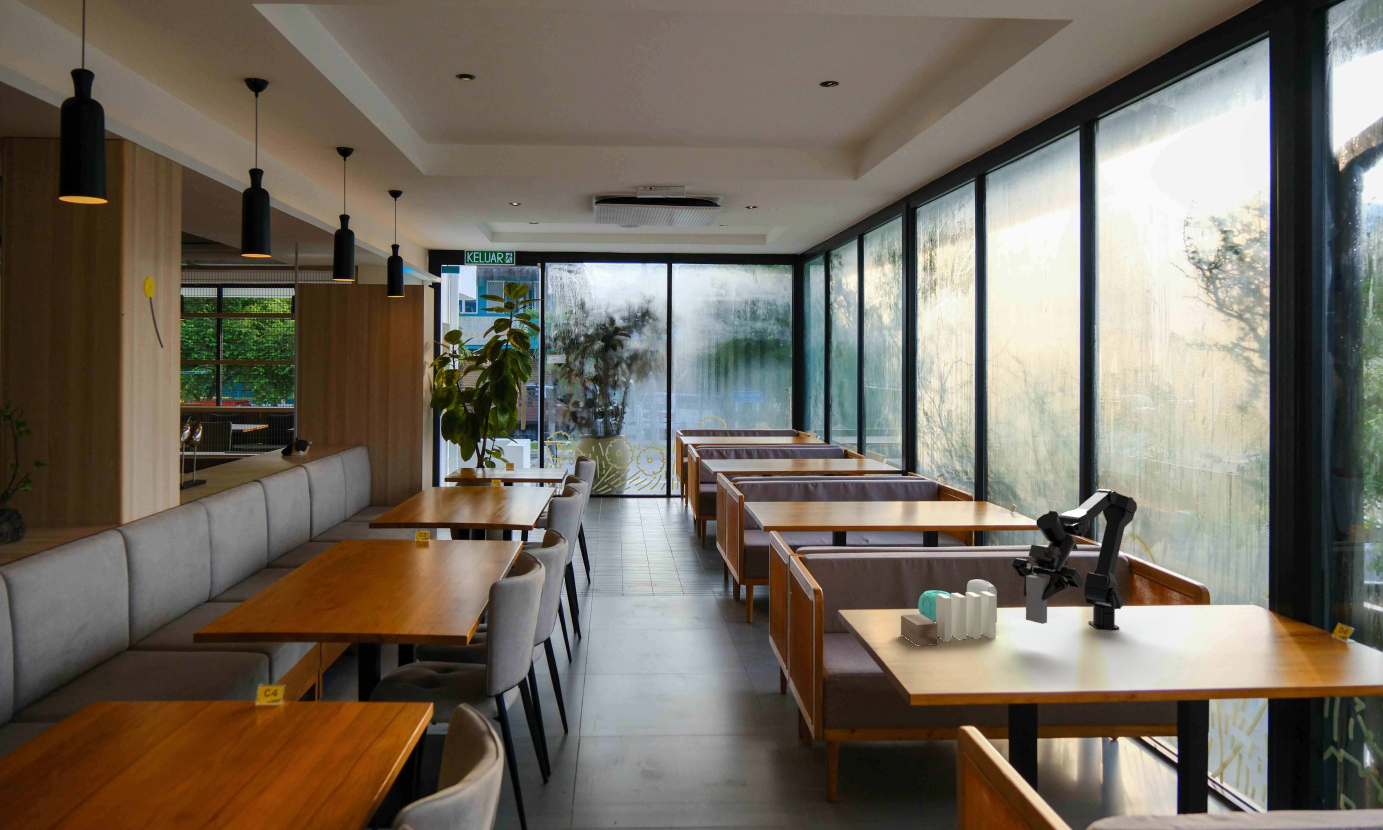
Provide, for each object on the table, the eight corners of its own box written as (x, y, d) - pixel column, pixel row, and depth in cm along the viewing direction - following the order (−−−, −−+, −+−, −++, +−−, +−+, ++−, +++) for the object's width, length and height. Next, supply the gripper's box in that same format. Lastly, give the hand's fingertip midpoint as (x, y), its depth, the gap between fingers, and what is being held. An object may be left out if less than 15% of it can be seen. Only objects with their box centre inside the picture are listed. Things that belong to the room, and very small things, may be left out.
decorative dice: (956, 620, 253) (956, 594, 253) (938, 624, 249) (938, 597, 248) (935, 614, 260) (935, 588, 259) (917, 618, 255) (917, 592, 255)
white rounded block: (964, 617, 256) (964, 577, 256) (976, 615, 258) (976, 576, 257) (987, 626, 247) (987, 584, 246) (999, 624, 248) (999, 583, 248)
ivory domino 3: (971, 633, 239) (972, 591, 239) (981, 638, 234) (981, 596, 234) (965, 634, 239) (965, 592, 238) (974, 639, 234) (974, 596, 233)
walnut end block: (920, 634, 239) (920, 613, 239) (937, 644, 229) (937, 623, 229) (900, 635, 238) (901, 615, 238) (916, 645, 228) (916, 624, 228)
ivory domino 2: (957, 634, 238) (957, 592, 238) (966, 639, 233) (966, 596, 233) (950, 634, 238) (950, 593, 237) (959, 640, 233) (959, 597, 233)
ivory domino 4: (986, 632, 240) (986, 591, 240) (995, 637, 235) (995, 595, 235) (979, 633, 240) (980, 591, 239) (989, 638, 235) (989, 595, 234)
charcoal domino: (1030, 618, 229) (1030, 574, 229) (1046, 622, 225) (1047, 578, 225) (1025, 619, 228) (1026, 575, 228) (1042, 623, 224) (1042, 579, 224)
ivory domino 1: (942, 635, 237) (942, 593, 237) (951, 640, 232) (951, 597, 232) (936, 635, 237) (936, 593, 237) (944, 641, 232) (944, 598, 232)
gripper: (1015, 529, 236) (990, 573, 230) (1077, 538, 221) (1053, 586, 215) (1031, 553, 241) (1008, 597, 235) (1094, 564, 225) (1070, 611, 219)
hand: (1033, 597), depth 226 cm, fingers closed on charcoal domino, 5 cm apart
